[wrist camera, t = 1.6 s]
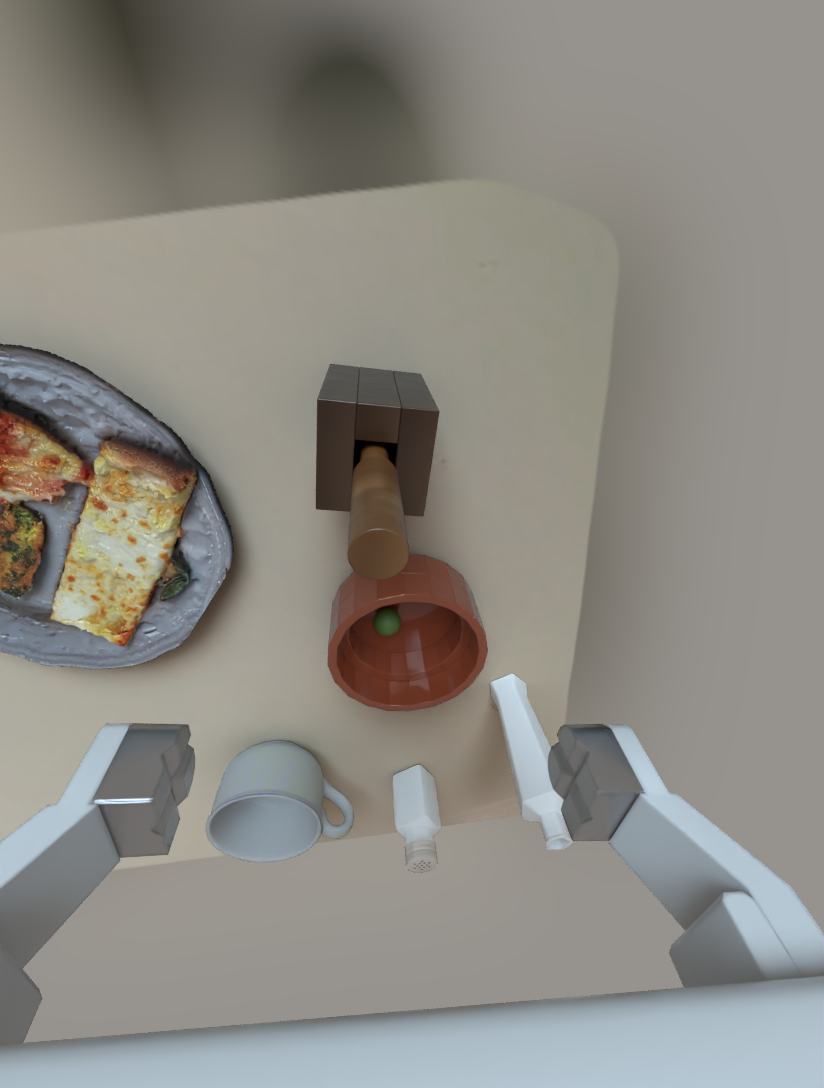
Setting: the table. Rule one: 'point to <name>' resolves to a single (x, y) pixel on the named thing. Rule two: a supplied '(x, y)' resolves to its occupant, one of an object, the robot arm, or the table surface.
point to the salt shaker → (417, 817)
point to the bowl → (407, 637)
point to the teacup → (273, 804)
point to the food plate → (98, 521)
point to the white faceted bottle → (529, 761)
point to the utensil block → (374, 432)
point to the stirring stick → (376, 516)
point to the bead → (387, 621)
